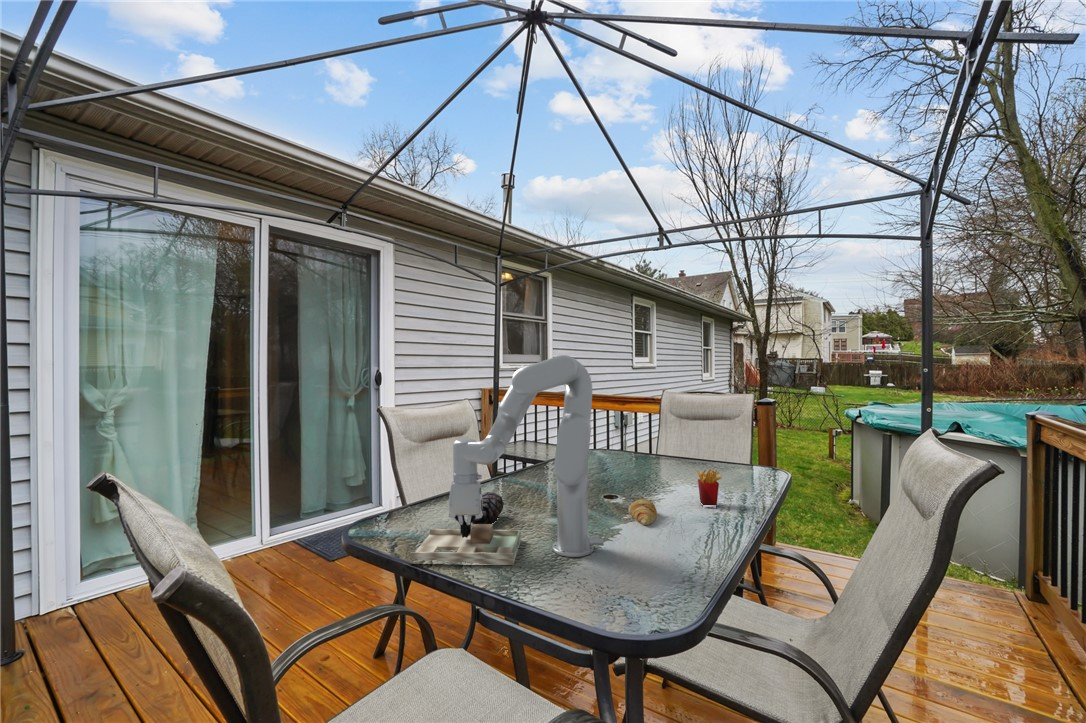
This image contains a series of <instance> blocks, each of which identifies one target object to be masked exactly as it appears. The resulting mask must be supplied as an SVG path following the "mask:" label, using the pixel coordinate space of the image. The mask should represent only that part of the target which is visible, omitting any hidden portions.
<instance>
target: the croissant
mask: <svg viewBox="0 0 1086 723" xmlns="http://www.w3.org/2000/svg"><path fill="white" fill-rule="evenodd" d="M627 512H628V514H629V515H630V516H631V517H632V518H633V519H634V520H635V519H636V520H635V521H637V522H638V523H640V524H641V525H643V526H649V525H651V524H653V523H652V522H655V520H656V519H657V518H658V511H657V508H656V506H655V504H654V503H653V502H652V501H651V500H650V499H647V498H640V499H635V501H633V502H631V504H630V505H629V507H628V510H627ZM655 518H656V519H655ZM650 523H651V524H650Z"/></svg>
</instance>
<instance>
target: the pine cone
mask: <svg viewBox="0 0 1086 723" xmlns="http://www.w3.org/2000/svg"><path fill="white" fill-rule="evenodd" d="M482 504H483V507H482V514H483V516H482V518H479V519H475V520H474V521H473V522H472V523H471V524H472V525H474V524H492V523H494V522H495V521H497V518H499V517H500V515H501V513H502V512H503V509H504V505H505V502H504V500H503V497H502V496H501V495H499V494H497V493H496V492H492V491H486V492H484V493H482ZM498 516H499V517H498ZM497 522H498V521H497Z"/></svg>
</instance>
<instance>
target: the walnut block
mask: <svg viewBox="0 0 1086 723" xmlns="http://www.w3.org/2000/svg"><path fill="white" fill-rule="evenodd" d="M493 530H494V524H473V525H472V526H471V531H470V534H471V544H490V542H491V540H492V538H493Z"/></svg>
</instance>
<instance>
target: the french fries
mask: <svg viewBox="0 0 1086 723" xmlns="http://www.w3.org/2000/svg"><path fill="white" fill-rule="evenodd" d="M697 474H698V479H697V483H698V484H697V485H698V494H699V502H701V503H702V504H703V505H717V506H718V499H719V498H718V496H719V495H718V494H719V488H720V487H719V486H720V484H719V482H718V481H719V480H721V479H722V476H721V475H719V474H720V471H718V470H717V469H716V470H712V469H711V468H709V469H708V470H707V469H704V470H703V471H700V470H698V471H697ZM717 475H718V476H717ZM701 503H700V504H701Z"/></svg>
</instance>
